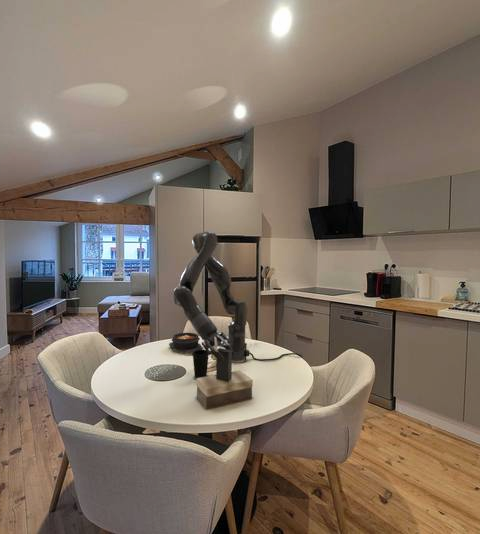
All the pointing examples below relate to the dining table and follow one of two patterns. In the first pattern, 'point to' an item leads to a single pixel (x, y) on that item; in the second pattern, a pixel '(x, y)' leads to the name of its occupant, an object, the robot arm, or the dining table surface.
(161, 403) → the dining table surface
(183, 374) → the dining table surface
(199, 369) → the cup
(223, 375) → the dark grey rectangular block
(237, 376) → the lidded shoe box
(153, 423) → the dining table surface
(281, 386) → the dining table surface
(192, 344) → the casserole
